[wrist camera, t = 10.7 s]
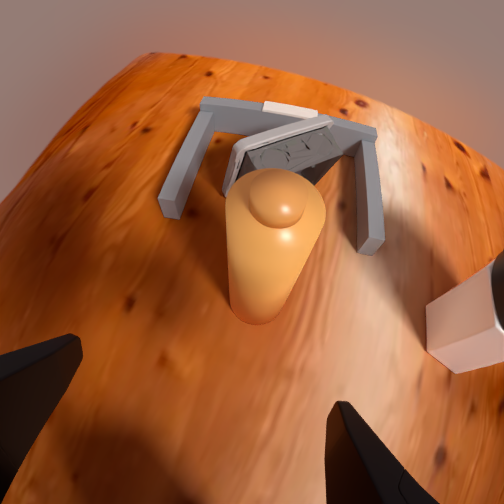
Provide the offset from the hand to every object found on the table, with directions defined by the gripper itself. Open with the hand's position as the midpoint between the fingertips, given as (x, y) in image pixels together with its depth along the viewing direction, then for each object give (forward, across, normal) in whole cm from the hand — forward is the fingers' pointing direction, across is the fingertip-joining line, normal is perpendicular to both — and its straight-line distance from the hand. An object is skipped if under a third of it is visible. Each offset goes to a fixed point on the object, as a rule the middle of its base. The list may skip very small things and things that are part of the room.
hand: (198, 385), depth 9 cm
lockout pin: (+15, -1, +4) cm, 16 cm away
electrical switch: (+23, -1, -3) cm, 23 cm away
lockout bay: (+25, -1, -5) cm, 25 cm away
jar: (+15, -22, +4) cm, 27 cm away
